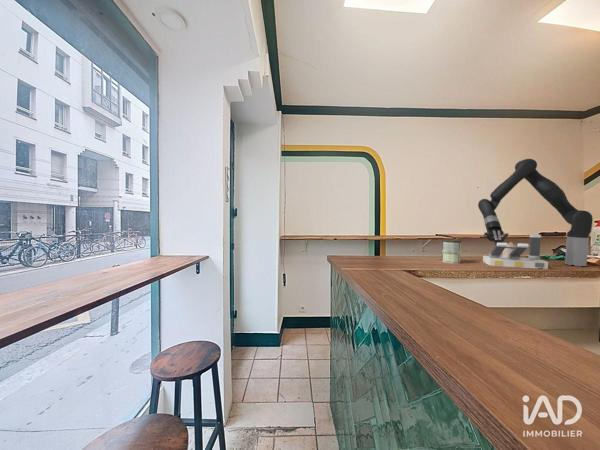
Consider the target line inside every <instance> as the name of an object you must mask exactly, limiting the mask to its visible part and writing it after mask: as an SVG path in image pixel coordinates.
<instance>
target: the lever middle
mask: <svg viewBox="0 0 600 450" xmlns="http://www.w3.org/2000/svg"><path fill="white" fill-rule="evenodd" d="M528 248H530V244H529V243H521V242H520V243H519V242H518V243H517V244H516V247H515V249H514V250H513V251H512V252H511V254H509V255H508V257H509V258H516V259H519V258H521V257H520V256H521V255H522V254H523V253H524V252H525V251H526V250H527V249H528Z"/></svg>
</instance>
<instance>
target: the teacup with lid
mask: <svg viewBox="0 0 600 450" xmlns="http://www.w3.org/2000/svg"><path fill="white" fill-rule="evenodd" d="M516 246H517V244H514V243H513V242H512V241H510V242H509V243H507V247H506V248H505V249H504V250H503V252H502V253H501V257H508V255H509V254H511V252H512V251H513V250H514V249H515V247H516Z"/></svg>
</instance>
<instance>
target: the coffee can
mask: <svg viewBox="0 0 600 450" xmlns="http://www.w3.org/2000/svg"><path fill="white" fill-rule="evenodd" d="M461 249H462V240H461V239H455V238H454V239H451V238H443V239H442V252H441V255H442V256H441V262H443V263H445V264H461Z"/></svg>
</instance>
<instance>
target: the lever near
mask: <svg viewBox="0 0 600 450" xmlns="http://www.w3.org/2000/svg"><path fill="white" fill-rule="evenodd" d="M541 237H542V234H532V233H531V234H529V250H528V255H527V258H528V259H535V260H541V256H540V254H541V240H542V239H541Z"/></svg>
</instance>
